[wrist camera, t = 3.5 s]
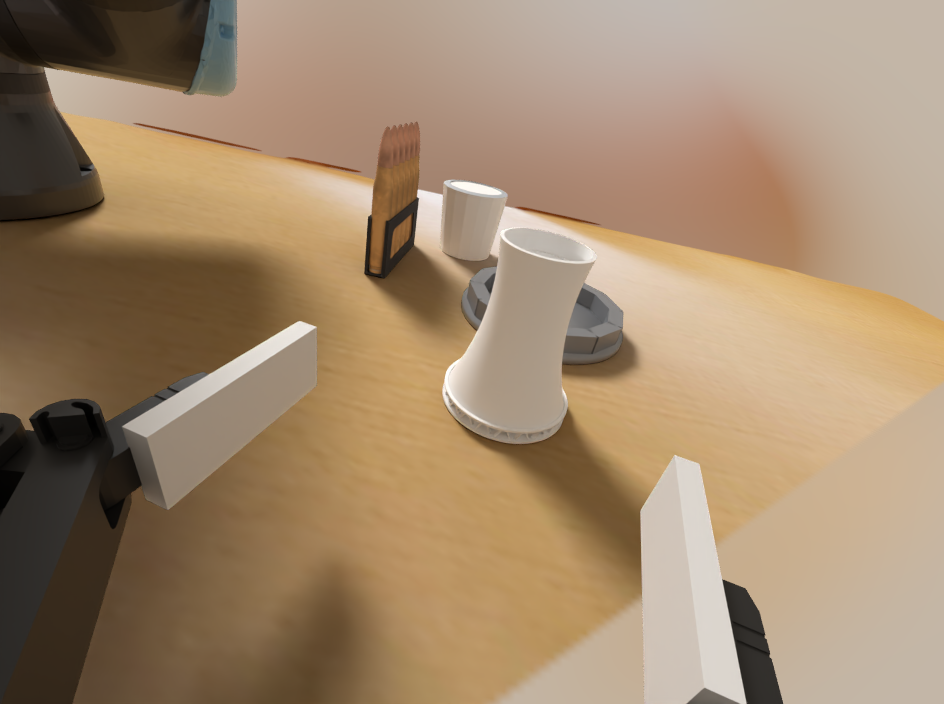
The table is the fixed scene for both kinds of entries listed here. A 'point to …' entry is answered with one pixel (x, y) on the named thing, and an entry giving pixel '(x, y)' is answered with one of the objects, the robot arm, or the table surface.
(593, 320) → the socket ring
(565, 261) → the vase
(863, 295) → the table surface
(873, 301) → the table surface
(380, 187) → the ammunition clip
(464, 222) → the shot glass
